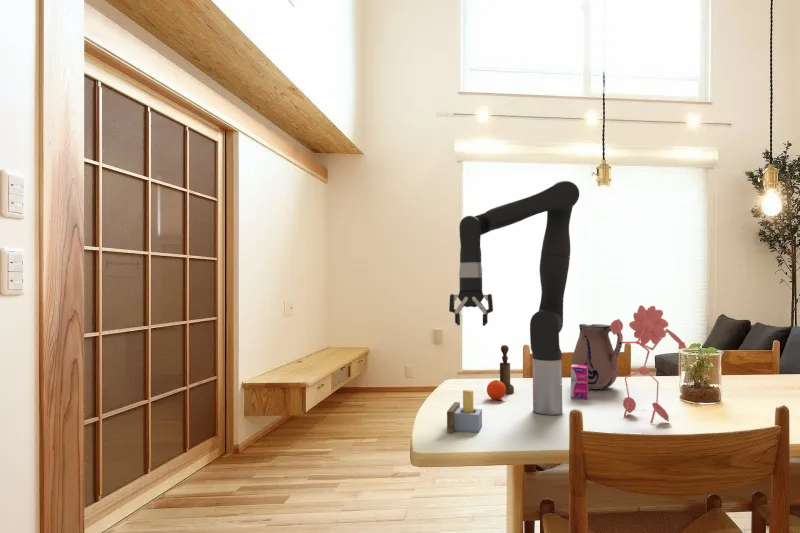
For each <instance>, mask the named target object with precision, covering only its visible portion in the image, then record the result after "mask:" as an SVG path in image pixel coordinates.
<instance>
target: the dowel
mask: <svg viewBox="0 0 800 533" xmlns="http://www.w3.org/2000/svg"><path fill="white" fill-rule="evenodd" d="M462 408H463V413H473V409H474V390H472V389H464V390H462Z"/></svg>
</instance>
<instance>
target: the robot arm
mask: <svg viewBox="0 0 800 533" xmlns="http://www.w3.org/2000/svg"><path fill="white" fill-rule="evenodd" d="M579 198H580V189H579V187H578V185H577V184H576V183H574V182H572V181H569V180H561V181H560V180H559V181H557V182H556V183H554V184H553V185H551V186H550V187H547V188H546V189H545V190H542V191H540V192H538V193H535V194H533V195H531V196H528V197H525V198H521V199H518V200H514V201H512V202H507V203H504V204H502V205H499V206H495V207H492V208H491V209H488V210H487V211H486V212H483V213H480V214H478V215H467V216H464V217H463V218H462V219H461V220H460V221H459V222H460V223H459V228H458V229H459V242H460V248H459V251H460V252H459V271H458V272H459V273H458V276H459V277H458V278H459V281H458V282H459V292H458V294H454V293H451V294H450V295H449V309H448V311H449V313H454V323H455V324H456V326H461V314H460V312H461V311H462V309H463V308H464V307H465V308H470V307H472V308H477V307H478V309H479V310H480V311H481V313H482V326H483V327H484V326H486V325H487V324H488V322H489V321H488V318H489V316H488V315H489V314H490V313H492V312H494V304H493V294H492V293H489V294H484V293H483V292H484V291H483V267H482V248H481V236H483V235H485V234H487V233H490V232H492V231H494V230H495V231H496V230H499V229H502V228H505V227H507V226H510V225H511V226H512V225H514V224H516V223H518V222H521V221H523V220H525V219H528V218H530V217H533V216H535V215H538V214H542V213H545V212H547V213H546V226H545V231H544V236H543V240H542V245H541V246H542V247H541V252H540V259H539V260H540V261H539V280H540V287H541V288H540V289H541V290H540V291H541V293H540V294H541V295H540V302H539V303H540V304H539V307H538V310H537V311H536V312H535V313H534V314H533V315H532V316H531V319H530V322H529V339H530V341H529V344H530V351H531V354H532V410H533V412H534V413H537V414H540V415H545V416H546V415H548V416H549V415H550V416H553V415H563V372H562V371H563V369H562V368H563V366H562V364H563V363H562V360H563V359H562V358H563V357H562V350H561V346H560V332H562V329H563V326H564V298H565V297H564V296H565V291H566V286H567V280H568V275H569V268H570V259H571V237H570V236H571V234H570V223H571V217H572V216H571V215H572V210H573V207H575V205H576V204H577V203H578V200H579ZM457 299H458V300H459V301H460V304H458V306H457V307H456V308H455V302H456V301H457ZM484 299H485V301H486V302H487V306H488V307H487V309H486V308H485V306H484V304H483V303H482V301H483V300H484Z"/></svg>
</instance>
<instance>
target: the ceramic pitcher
mask: <svg viewBox="0 0 800 533" xmlns="http://www.w3.org/2000/svg"><path fill="white" fill-rule="evenodd" d="M610 325H611V324H609V325H608V324H601V323H599V324H598V323H597V324H596V323H592V324H585V323H581V324H580V323H579V325H578V326H579V335H578V339H577V342H576V345H575V347H574V350H573V354H572V359H571V362H570V364H571V365H570V367H571V366H572V365H586V366H588V390H598V389H600V390H607V389H608V388H610V387H612V385H614V383H615V382H616V380H617V378H618V373H619V367H618V362H617V359H618V357H619V355H620V353H621V349H622V346H623V343H621V342H620V335H619V333H617V334H616V337H617V339H616V345H615V348H614V347H613V345H612V342H611V338H610V334H609V333H612V331H611V329H610ZM621 336H622V342H624V340H623V334H622V332H621Z"/></svg>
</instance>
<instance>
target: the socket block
mask: <svg viewBox="0 0 800 533" xmlns="http://www.w3.org/2000/svg"><path fill="white" fill-rule="evenodd" d="M482 427H483V409H482V408H473V413H463V407H460V408H458V409H457V410H456V411H455V413H454V432H466V433H478V434H479V433H480V431H481V430H482Z"/></svg>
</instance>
